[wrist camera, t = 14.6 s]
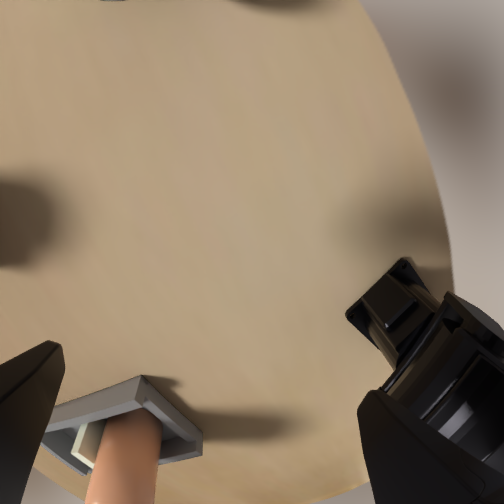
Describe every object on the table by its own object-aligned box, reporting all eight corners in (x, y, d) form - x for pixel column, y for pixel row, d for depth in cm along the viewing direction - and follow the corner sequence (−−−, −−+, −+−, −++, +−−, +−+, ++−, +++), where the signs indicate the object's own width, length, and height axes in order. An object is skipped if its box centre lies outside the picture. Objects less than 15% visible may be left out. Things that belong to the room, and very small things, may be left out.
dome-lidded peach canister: (162, 409, 24) (146, 535, 12) (165, 441, 26) (156, 548, 14) (103, 399, 23) (69, 515, 11) (113, 432, 25) (90, 534, 13)
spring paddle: (93, 409, 23) (77, 452, 18) (138, 446, 26) (131, 487, 21) (64, 417, 24) (49, 455, 19) (108, 452, 26) (99, 489, 21)
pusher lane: (141, 374, 23) (132, 408, 19) (202, 432, 26) (202, 463, 23) (39, 411, 25) (28, 434, 21) (94, 456, 28) (87, 479, 24)
